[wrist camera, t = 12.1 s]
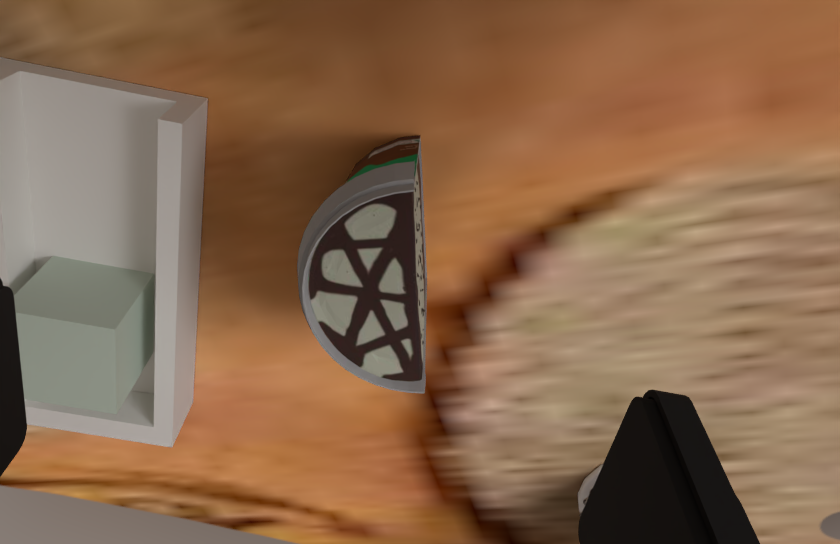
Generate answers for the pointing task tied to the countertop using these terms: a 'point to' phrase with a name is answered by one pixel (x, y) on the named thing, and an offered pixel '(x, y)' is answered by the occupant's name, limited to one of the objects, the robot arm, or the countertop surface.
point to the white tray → (108, 218)
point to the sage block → (84, 333)
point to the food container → (371, 269)
